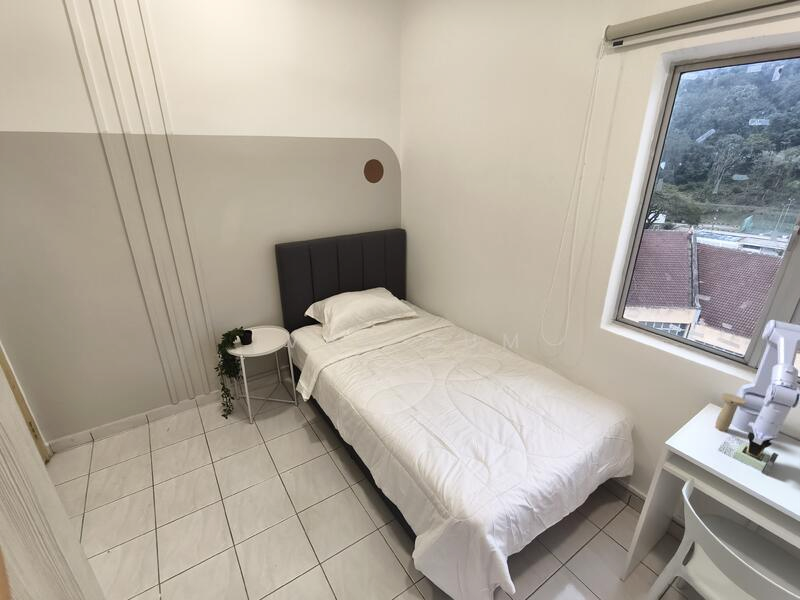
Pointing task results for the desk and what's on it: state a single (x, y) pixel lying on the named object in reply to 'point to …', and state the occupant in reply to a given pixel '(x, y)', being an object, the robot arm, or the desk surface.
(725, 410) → the handle
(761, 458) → the collar block
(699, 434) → the desk surface
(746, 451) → the dowel
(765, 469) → the board
